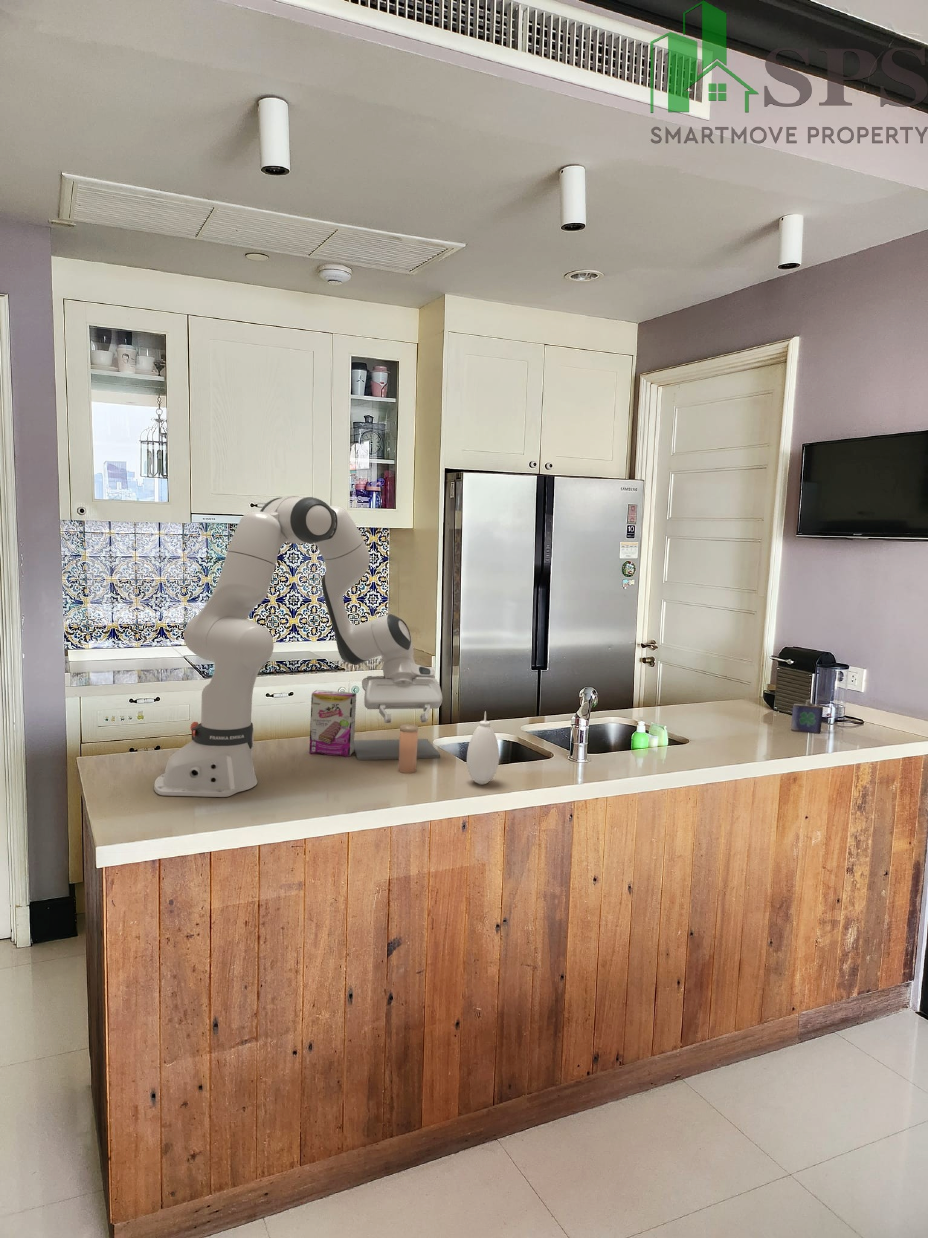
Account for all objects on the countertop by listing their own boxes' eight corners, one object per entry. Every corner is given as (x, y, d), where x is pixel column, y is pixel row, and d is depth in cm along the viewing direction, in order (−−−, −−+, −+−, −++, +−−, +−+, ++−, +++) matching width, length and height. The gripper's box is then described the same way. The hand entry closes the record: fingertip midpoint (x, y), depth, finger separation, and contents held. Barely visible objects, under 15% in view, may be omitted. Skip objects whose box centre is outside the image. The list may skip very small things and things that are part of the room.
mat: (358, 760, 217) (358, 757, 216) (349, 743, 232) (350, 740, 232) (440, 757, 222) (440, 754, 222) (427, 741, 238) (427, 738, 238)
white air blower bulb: (498, 779, 206) (502, 708, 204) (496, 789, 199) (500, 715, 196) (467, 777, 207) (470, 706, 205) (463, 787, 199) (467, 713, 197)
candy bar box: (308, 754, 220) (310, 693, 218) (313, 749, 225) (315, 689, 223) (350, 757, 219) (352, 696, 217) (354, 752, 224) (356, 692, 222)
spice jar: (400, 773, 207) (402, 728, 206) (396, 768, 211) (398, 724, 210) (417, 773, 208) (419, 728, 207) (414, 767, 213) (416, 724, 211)
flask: (791, 731, 274) (794, 699, 272) (789, 729, 276) (793, 697, 275) (821, 734, 271) (824, 702, 270) (819, 732, 274) (823, 700, 273)
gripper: (362, 669, 215) (367, 715, 207) (439, 669, 221) (447, 714, 212) (359, 683, 220) (363, 728, 212) (435, 682, 225) (442, 727, 217)
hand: (406, 721), depth 212 cm, fingers open, 8 cm apart
